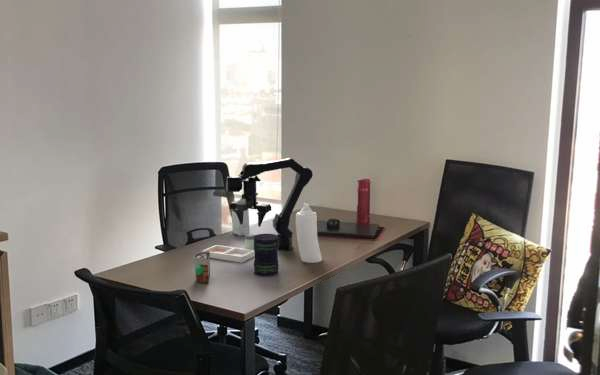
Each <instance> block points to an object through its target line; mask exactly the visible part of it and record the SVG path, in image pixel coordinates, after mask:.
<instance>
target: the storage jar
mask: <svg viewBox="0 0 600 375" xmlns="http://www.w3.org/2000/svg"><path fill="white" fill-rule="evenodd" d="M254 235H255V236H254V251H255V256H254V260H253V270H254V272H253V273H254V275H255V276H257V277H263V278H265V277H266V278H268V277H270V278H271V277H275V276H276V275H278V274H279V259H278V256H279V255H278V254H279V253H278V251H279V249H278V236H277V235H278V234H275V233H274V234H273V233H258V234H254Z"/></svg>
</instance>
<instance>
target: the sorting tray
mask: <svg viewBox="0 0 600 375" xmlns="http://www.w3.org/2000/svg"><path fill="white" fill-rule="evenodd" d="M203 251H210V259H216V260H224V261H231V262H236V263H241V264H243V263H244V262H247V261H248V260H250V259H252V258H255V251H254V250H248V249H246V248H240V247H234V246H228V245H227V246H226V245H218V244H215V245H213V246H210V247H208V248H205V249H203V250H201V252H203Z"/></svg>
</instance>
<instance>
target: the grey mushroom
mask: <svg viewBox="0 0 600 375" xmlns="http://www.w3.org/2000/svg"><path fill="white" fill-rule="evenodd" d="M255 235H256V234H255V233H250V234H247V235H244V239H245V242H244V245H245V249H248V250H254V236H255Z"/></svg>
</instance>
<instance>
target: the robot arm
mask: <svg viewBox="0 0 600 375" xmlns="http://www.w3.org/2000/svg"><path fill="white" fill-rule="evenodd" d="M288 168H290V169H291V170H293V171H294V173H295V177H294V184H293V186H292V189H291V191H290V193H289V195H288V197H287V199H286V201H285V202H284V203H285V204H284V205H283V208H282V209H281V212H280V213H275V215H274V218H273V219H272V220H271V222H272V228H273V229H274V230H275V232H276V233H277V234H276V235H277V236H278V251H279V250H281V251H287V252H288V251H289V250H292V249H293V248H294V246H293V231H292V230H291V229H290V228H289V225H290V221H291V220H290V219H291V215H292V212H294V209H295V207H296V205H297V202H298V200H299V198H300V196H301V195H302V194H301V193H302V192H303V190H304V188H305V187H306V186H307V185H308V184H309V182H310V181H311V179H312V178H313V176H314V175H313V171H312V169H310V168H308V167H307V166H304V165H303V166H302V164H299V163H298V162H296V160H295V159H294V158H291V157H286V158H282V159H276V160H271V161H264V162H256V161H255V162H254V161H253V162H251V161H250V162H249V161H248V162H246V163H244V164H243V165H242V168H241V172H240V173H239V174H238V176H226V183H225V189H226V193H239V192H241V191H242V190H243V191H242V192H243V193H242V194H241V198H239V199H238V200H235V201H232V202H230V203H229V205H228V206H229V210H231V209H233V210H231V212H232V211H234V212H235V213H236V214H237V216H238V219H239V221H240V224H241V225H242V224H243V213H244V211H246V210H248V211H249V210H257V212H256V214H257V226H258V227H261V226H262V223H263V220H264V218H265V216H266V214H267V213H269V212H271V211H272V206H271V204H269V203H261V204H259V201H257V196H258V195H259V193H258V192H257V182H261V179H260V177H258V176H259V175H261V174H262V173H265V172H270V171H275V170H276V171H277V170H282V169H288ZM258 204H259V205H258Z"/></svg>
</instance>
